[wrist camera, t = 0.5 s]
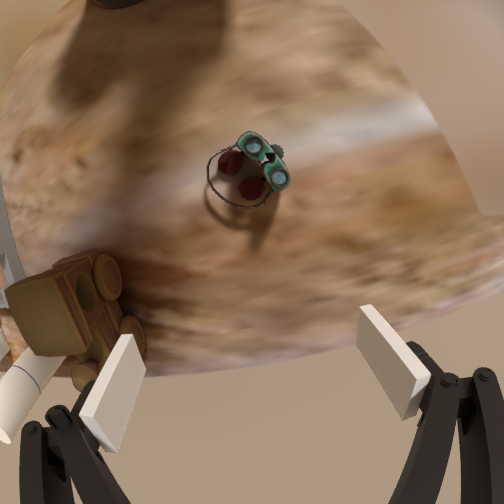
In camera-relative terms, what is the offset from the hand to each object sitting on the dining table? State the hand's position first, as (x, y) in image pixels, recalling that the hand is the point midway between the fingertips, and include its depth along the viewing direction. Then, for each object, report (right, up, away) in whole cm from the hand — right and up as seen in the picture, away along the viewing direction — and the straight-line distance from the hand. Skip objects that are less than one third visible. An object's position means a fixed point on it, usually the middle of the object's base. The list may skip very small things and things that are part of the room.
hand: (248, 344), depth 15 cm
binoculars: (0, +16, +24) cm, 29 cm away
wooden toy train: (-24, -3, +28) cm, 37 cm away
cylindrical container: (-40, -14, +30) cm, 52 cm away
